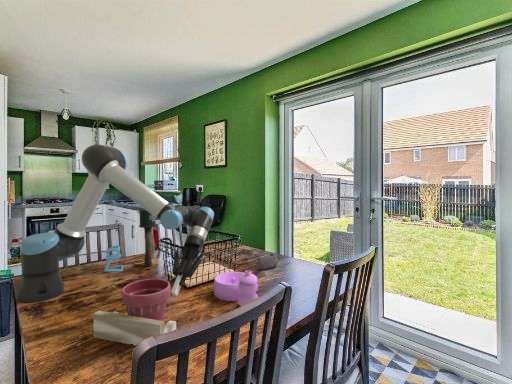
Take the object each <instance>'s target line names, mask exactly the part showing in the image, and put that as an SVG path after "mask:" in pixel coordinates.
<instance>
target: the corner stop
mask: <svg viewBox="0 0 512 384" xmlns="http://www.w3.org/2000/svg"><path fill="white" fill-rule="evenodd" d="M92 319H93V338H95V339H101V340H105V341H111V342H115V341H116V342H115V343H120V342H121V344H125V345H130V344H133V345H132V346H135V347H137V346H136V345H137V344H138V343H139V342H140V341H142V340H143V339H145V338H148V337H151V336H155V335H159V334H164V333H168V332H171V331H174V330H176V331H177V321H176V320H169V321H168V322H167V323H165V320H163V321H159V320H153V319H147V318H141V317H135V316H129V315H128V314H121V313H120V311H112V312H109V311H103V310H98V311H96V312H94V313H93V318H92Z"/></svg>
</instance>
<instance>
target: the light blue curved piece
mask: <svg viewBox="0 0 512 384" xmlns="http://www.w3.org/2000/svg"><path fill="white" fill-rule="evenodd" d="M111 252H117V253H115V254H110V253H111ZM105 253H106V257H105V260H106V261H107V262H106V264H105V267H104V271H103V272H105V273H106V272H123V270H124V264H123V265H121V264H119V265H115V266H110V264H111V263H112V261H115V260H118V259H119V260H120V259H121V257H122V253H121V246H120V245H114V246H113V245H112V246H110V247H108V248H107V249H106V250H105Z"/></svg>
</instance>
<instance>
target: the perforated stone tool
mask: <svg viewBox="0 0 512 384" xmlns="http://www.w3.org/2000/svg"><path fill="white" fill-rule="evenodd" d="M278 256H279V255H278V253H276V252H272V253H270V254H266V255H264V256H262V257H260V258H259V259H258V261H257V262H256V267H257V269H258V270H262V271H263V270H268V269H271V268H274V267H276V266H277V264H278V263H279V260H278Z"/></svg>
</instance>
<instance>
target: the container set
mask: <svg viewBox="0 0 512 384" xmlns="http://www.w3.org/2000/svg"><path fill="white" fill-rule="evenodd" d="M213 280H214V281H213V295H214V296H215V297H214V298H217V299H219V300H221V301H224V302H225V301H226V302H237V303H238V305H239V306H240V307H241V306H242V305H245V304H247V303H249V302H250V301H252V300H254V299H256V298H258V299H259V295H258V294H257V293H256V292H257V291H258V289H259V285H258V284H259V283H258V280H259V279H258V277H257V276H256V274H254V273H252V270H248V269H247V270H245V272H241V271H225V272H221V273H218V274H216V275H215V276H214V277H213Z"/></svg>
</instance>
